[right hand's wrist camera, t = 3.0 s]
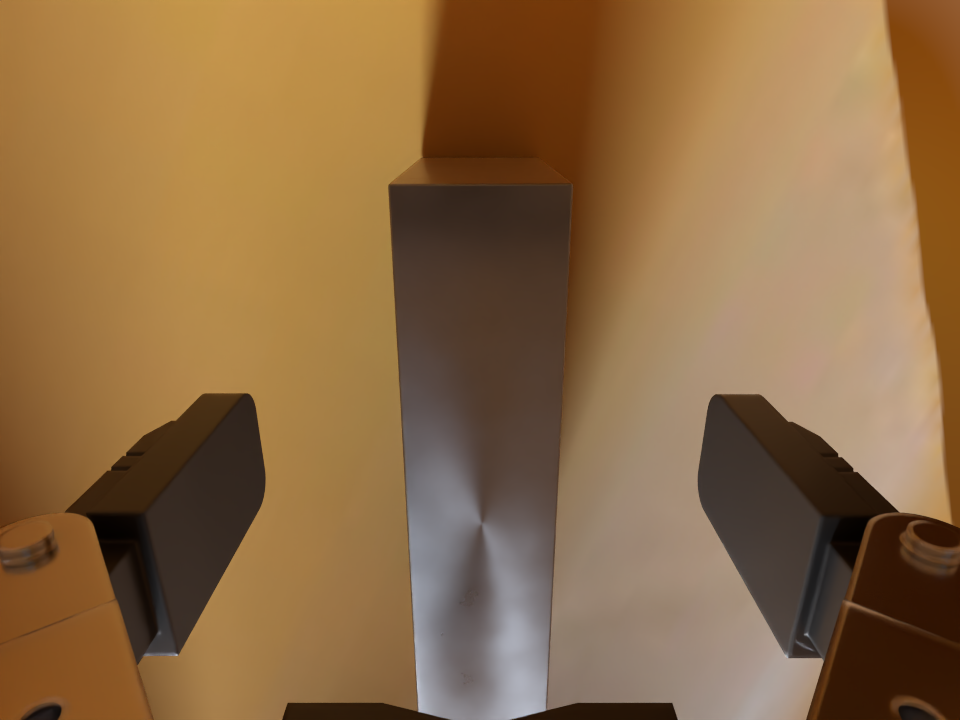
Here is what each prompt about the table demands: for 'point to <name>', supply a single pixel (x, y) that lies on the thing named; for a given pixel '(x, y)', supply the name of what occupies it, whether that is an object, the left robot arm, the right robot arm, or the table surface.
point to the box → (481, 422)
